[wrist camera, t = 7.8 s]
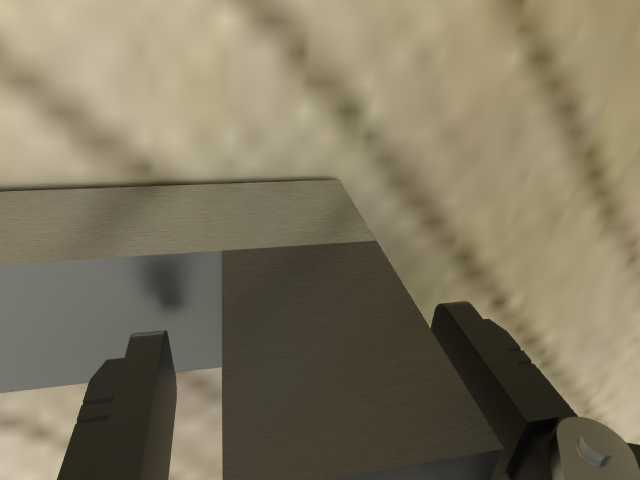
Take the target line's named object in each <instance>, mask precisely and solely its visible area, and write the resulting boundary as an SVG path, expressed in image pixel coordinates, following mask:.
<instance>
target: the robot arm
mask: <svg viewBox="0 0 640 480" xmlns="http://www.w3.org/2000/svg"><path fill="white" fill-rule="evenodd" d="M431 331H432V332H433V334H434V336H435V337H436V339H437V340H438V342H439V344H440V345H441V347H442V349H443V350H444V352H445V353H446V355H447V357H448V358H449V360H450V362H451V363H452V365H453V366H454V368H455V370H456V371H457V373H458V375H459V376H460V378H461V379H462V381H463V383H464V384H465V386H466V388H467V389H468V391H469V392H470V394H471V396H472V397H473V399H474V401H475V402H476V404H477V405H478V407H479V409H480V410H481V412H482V414H483V415H484V417H485V418H486V420H487V422H488V423H489V425H490V427H491V428H492V430H493V431H494V433H495V435H496V436H497V438H498V440H499V441H500V443H501V444H502V446H503V448H504V450H503V452H502V455H501V457H500V459H499V461H498V464H497V466H496V468H495V471H494V473H493V475H492V478H491V480H640V445H637V444H631V443H626V442H625V441H624V440H623V439H622V438H621V437H620V436H619V435H618V434H616V433H615V432H614V431H613V430H611V429H610V428H608V427H606V426H605V425H603V424H601V423H599V422H597V421H594V420H591V419H588V418H584V417H578V416H577V414H576V413H575V412H574V411H573V410H572V409H571V407H570V406H569V405H568V404H567V403H566V401H565V400H564V399H563V398H562V397H561V395H560V394H559V393H558V392H557V391H556V389H555V388H554V387H553V386H552V385H551V383H550V382H549V381H548V380H547V379H546V377H545V376H544V375H543V374H542V373H541V371H540V370H539V369H538V368H537V367H536V365H535V364H532V363H531V359H530V358H529V357H528V356H527V355H526V353H525V352H524V351H521V349H520V346H519V345H518V344H517V343H516V341H515V340H514V339H513V338H512V337H511V335H510V334H509V333H508V332H507V331H506V330H504V329H503V328H501V327H500V326H498V325H497V324H496V323H494V322H493V321H491V320H490V319H483V318H482V317H481V316H480V315H479V313H478V312H477V311H476V310H475V308H474V307H473V306H472V305H471V304H470V303H469V302H466V301H464V302H454V303H444V304H439V305H437V307H436V308H435V312H434V316H433V320H432V325H431ZM176 399H177V386H176V375H175V370H174V364H173V359H172V353H171V348H170V342H169V337H168V333H167V331H166V330H162V331H152V332H142V333H133V334H131V336H130V339H129V342H128V346H127V350H126V354H125V358H117V359H108V360H106V361H105V362H104V363H103V365H102V366H101V367H100V368H99V369H98V371H97V372H96V373H95V374H94V375H93V377H92V378H91V379H90V381H89V384H88V387H87V390H86V393H85V397H84V400H83V405H82V406H81V409H80V412H79V415H78V418H77V424H75V427H74V430H73V433H72V436H71V439H70V442H69V445H68V448H67V451H66V454H65V457H64V460H63V463H62V466H61V469H60V472H59V475H58V478H57V480H168V476H169V467H170V458H171V448H172V439H173V429H174V420H175V410H176Z"/></svg>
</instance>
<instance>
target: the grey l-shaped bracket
mask: <svg viewBox="0 0 640 480" xmlns="http://www.w3.org/2000/svg"><path fill="white" fill-rule="evenodd" d="M162 330H166V331H167V333H168V337H169V342H170V348H171V353H172V359H173V364H174V370H175V372H183V371H192V370H200V369H209V368H217V367H222V444H223V480H491V478H492V475H493V473H494V471H495V468H496V466H497V464H498V461H499V459H500V457H501V455H502V452H503V450H504V448H503V446H502V444H501V443H500V441H499V440H498V438H497V436H496V435H495V433H494V431H493V430H492V428H491V427H490V425H489V423H488V422H487V420H486V418H485V417H484V415H483V414H482V412H481V410H480V409H479V407H478V405H477V404H476V402H475V401H474V399H473V397H472V396H471V394H470V392H469V391H468V389H467V388H466V386H465V384H464V383H463V381H462V379H461V378H460V376H459V375H458V373H457V371H456V370H455V368H454V366H453V365H452V363H451V362H450V360H449V358H448V357H447V355H446V353H445V352H444V350H443V349H442V347H441V345H440V344H439V342H438V340H437V339H436V337H435V336H434V334H433V332H432V331H431V329H430V327H429V326H428V324H427V322H426V321H425V319H424V318H423V316H422V314H421V313H420V311H419V309H418V308H417V306H416V305H415V303H414V301H413V300H412V298H411V296H410V295H409V293H408V292H407V290H406V288H405V287H404V285H403V283H402V282H401V280H400V279H399V277H398V275H397V274H396V272H395V270H394V269H393V267H392V266H391V264H390V262H389V261H388V259H387V257H386V256H385V254H384V253H383V251H382V249H381V248H380V246H379V244H378V243H377V241H376V240H375V238H374V236H373V235H372V233H371V231H370V230H369V228H368V227H367V225H366V223H365V222H364V220H363V218H362V217H361V215H360V214H359V212H358V210H357V209H356V207H355V205H354V204H353V202H352V201H351V199H350V197H349V196H348V194H347V192H346V191H345V189H344V188H343V186H342V184H341V183H340V181H339V180H316V181H287V182H259V183H231V184H203V185H174V186H146V187H118V188H90V189H61V190H33V191H5V192H0V393H5V392H14V391H22V390H30V389H39V388H47V387H56V386H64V385H73V384H81V383H89V381H90V379H91V378H92V377H93V375H94V374H95V373H96V372H97V371H98V369H99V368H100V367H101V366H102V365H103V363H104V362H105V361H106V360H108V359H117V358H125V354H126V350H127V346H128V342H129V339H130V336H131V334H133V333H142V332H152V331H162Z"/></svg>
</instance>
